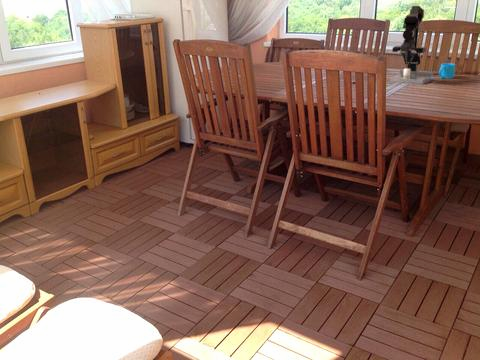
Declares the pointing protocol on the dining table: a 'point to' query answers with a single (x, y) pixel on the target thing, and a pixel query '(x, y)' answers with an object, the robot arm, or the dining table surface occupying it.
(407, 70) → the cream domed knob
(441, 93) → the dining table surface
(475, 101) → the dining table surface
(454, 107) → the dining table surface
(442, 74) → the mug
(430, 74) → the jig
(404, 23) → the robot arm
